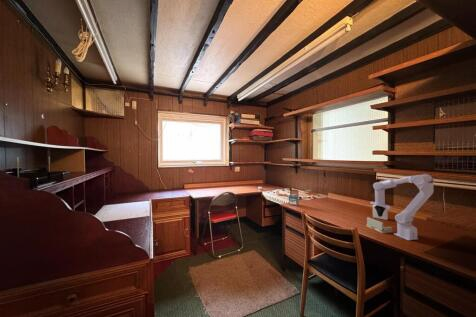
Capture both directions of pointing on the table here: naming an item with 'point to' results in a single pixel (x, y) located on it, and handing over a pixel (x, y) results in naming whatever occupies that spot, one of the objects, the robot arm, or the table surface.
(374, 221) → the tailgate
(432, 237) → the table surface
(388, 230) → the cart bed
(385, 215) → the photo printer
